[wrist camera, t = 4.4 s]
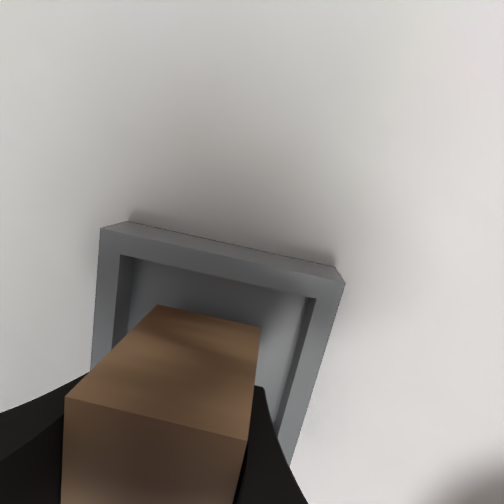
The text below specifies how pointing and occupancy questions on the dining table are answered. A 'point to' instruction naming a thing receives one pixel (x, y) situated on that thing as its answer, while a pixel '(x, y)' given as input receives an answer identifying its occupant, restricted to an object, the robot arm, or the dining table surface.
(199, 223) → the dining table surface
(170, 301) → the tray
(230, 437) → the walnut block
